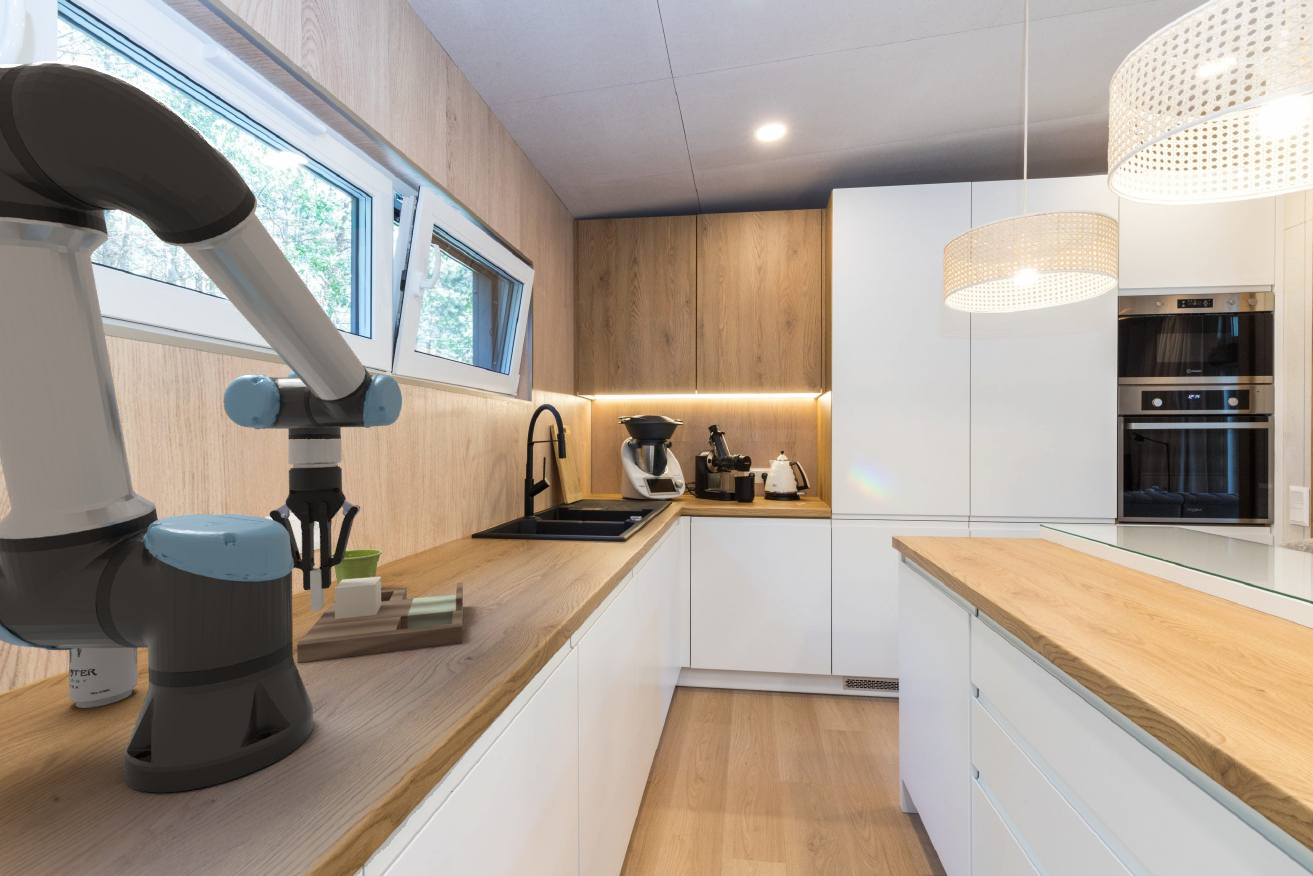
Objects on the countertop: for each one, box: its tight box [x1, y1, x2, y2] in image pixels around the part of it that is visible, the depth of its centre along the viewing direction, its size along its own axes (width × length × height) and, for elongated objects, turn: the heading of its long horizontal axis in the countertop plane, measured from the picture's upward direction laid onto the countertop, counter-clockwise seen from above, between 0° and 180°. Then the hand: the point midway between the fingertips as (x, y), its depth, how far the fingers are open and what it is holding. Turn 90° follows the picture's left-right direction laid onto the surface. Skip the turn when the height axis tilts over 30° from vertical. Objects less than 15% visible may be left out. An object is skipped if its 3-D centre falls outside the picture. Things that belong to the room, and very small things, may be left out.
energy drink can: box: [68, 648, 139, 709], centre depth 70 cm, size 6×6×15 cm
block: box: [334, 576, 382, 619], centre depth 96 cm, size 6×6×5 cm
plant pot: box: [332, 548, 383, 586], centre depth 115 cm, size 9×9×9 cm
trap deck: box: [296, 582, 464, 664], centre depth 97 cm, size 29×22×4 cm
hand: (317, 608), depth 94 cm, fingers closed
